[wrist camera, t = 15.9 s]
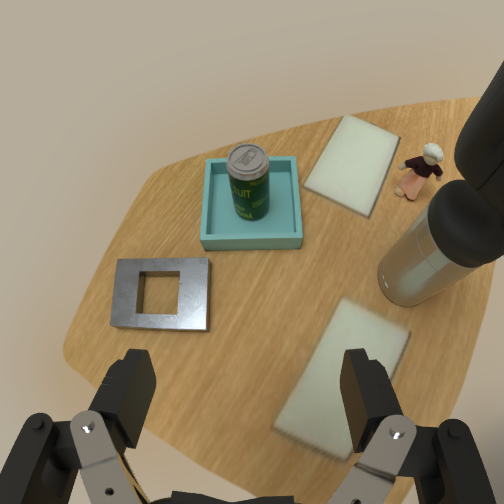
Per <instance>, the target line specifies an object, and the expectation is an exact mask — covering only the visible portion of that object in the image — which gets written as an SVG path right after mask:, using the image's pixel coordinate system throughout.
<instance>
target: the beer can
mask: <svg viewBox="0 0 504 504" xmlns="http://www.w3.org/2000/svg"><path fill="white" fill-rule="evenodd" d="M226 167H227V173H228V178H229V183H230V188H231V193H232V198H233V203H234V208H235V211H236V212H237V214H238V215H239V216H240V217H242V218H244V219H247V220H257V219H259V218H261V217H263V216H264V215H265V214H266V213H267V211H268V209H269V204H270V180H269V159H268V156H267V154H266V152H265V150H264V149H263V148H262V147H260V146H259V145H256V144H253V143H244V144H240V145H238V146H235V147H234V148H233V149H232V150H231V151H230V152H229V154H228V157H227V162H226Z"/></svg>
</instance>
